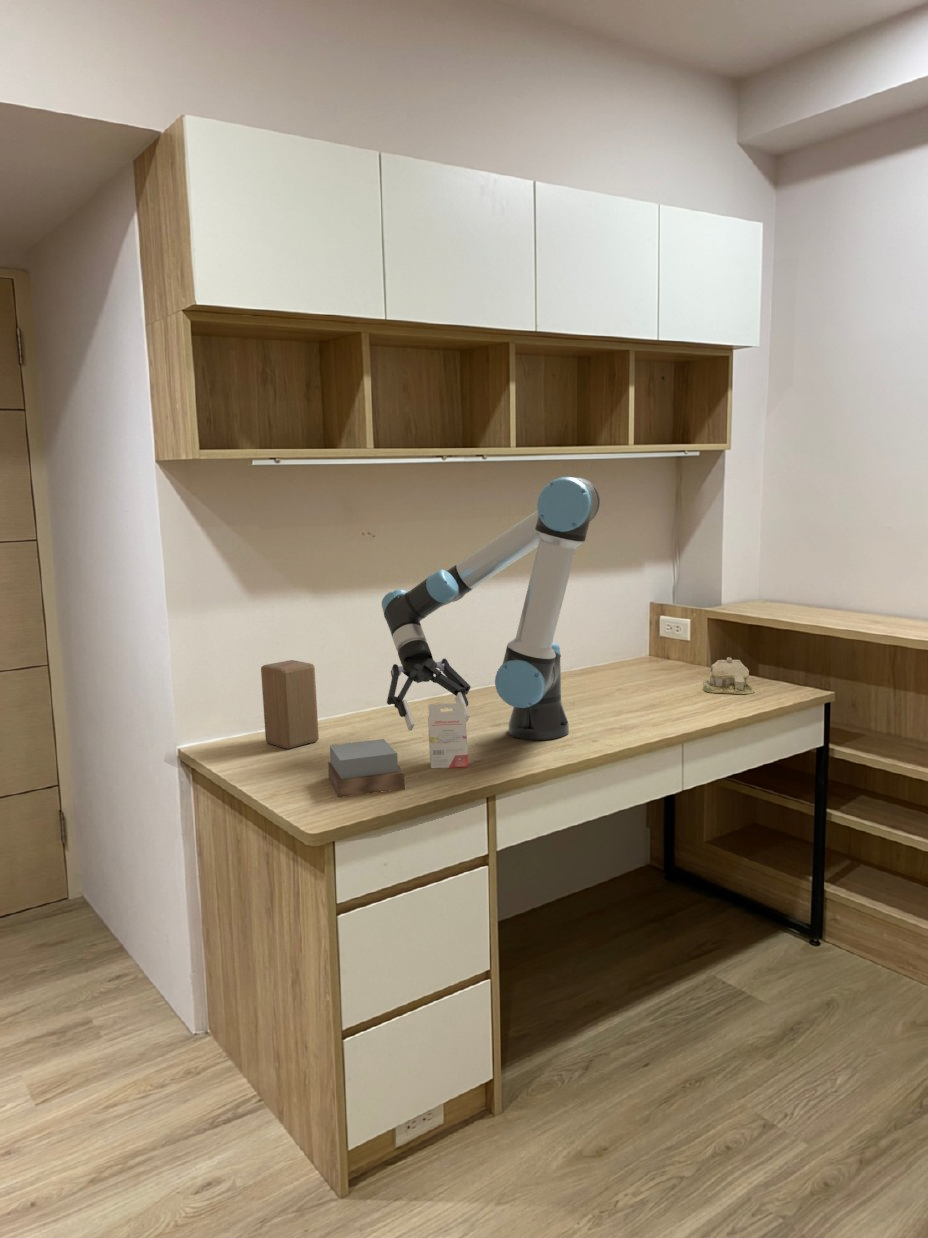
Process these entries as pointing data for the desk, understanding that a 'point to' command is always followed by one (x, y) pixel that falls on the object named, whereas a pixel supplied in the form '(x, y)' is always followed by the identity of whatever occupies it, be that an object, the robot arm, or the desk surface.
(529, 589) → the robot arm
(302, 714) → the wooden block
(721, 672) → the ceramic model
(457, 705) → the ink cartridge box
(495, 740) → the desk surface
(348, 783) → the walnut base slab
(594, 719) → the desk surface
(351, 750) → the slate grey top slab
